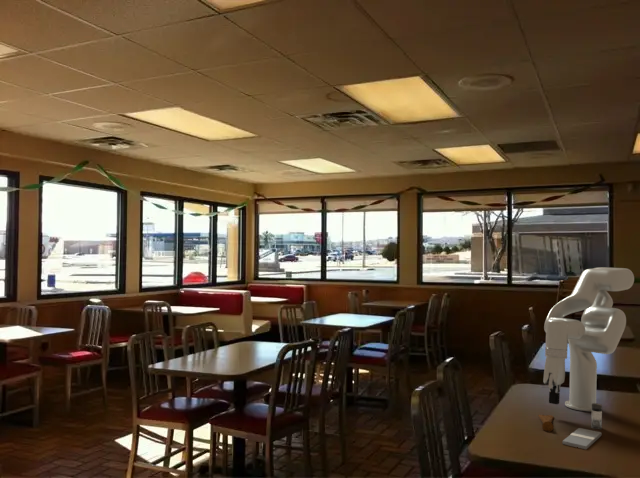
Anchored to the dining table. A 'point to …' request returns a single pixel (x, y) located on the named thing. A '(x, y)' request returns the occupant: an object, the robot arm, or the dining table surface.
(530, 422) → the dining table surface
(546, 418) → the primitive tool
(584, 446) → the panel
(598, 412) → the steel peg
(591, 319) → the robot arm
